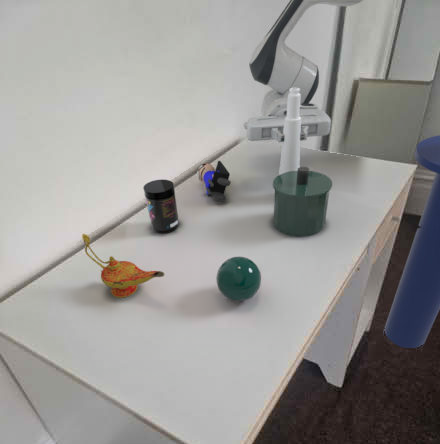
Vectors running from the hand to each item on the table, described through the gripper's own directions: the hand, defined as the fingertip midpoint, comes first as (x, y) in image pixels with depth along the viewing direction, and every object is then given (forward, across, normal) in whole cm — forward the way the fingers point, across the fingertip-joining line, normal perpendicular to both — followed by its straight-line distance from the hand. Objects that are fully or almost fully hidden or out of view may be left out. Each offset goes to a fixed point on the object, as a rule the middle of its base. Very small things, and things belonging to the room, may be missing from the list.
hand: (293, 137), depth 85 cm
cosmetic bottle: (-1, 0, +12) cm, 12 cm away
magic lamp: (+32, -36, +16) cm, 51 cm away
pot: (+12, 0, +15) cm, 20 cm away
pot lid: (+12, 0, +6) cm, 13 cm away
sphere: (+36, -16, +16) cm, 42 cm away
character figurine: (-6, -19, +16) cm, 25 cm away
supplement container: (+9, -31, +16) cm, 36 cm away
